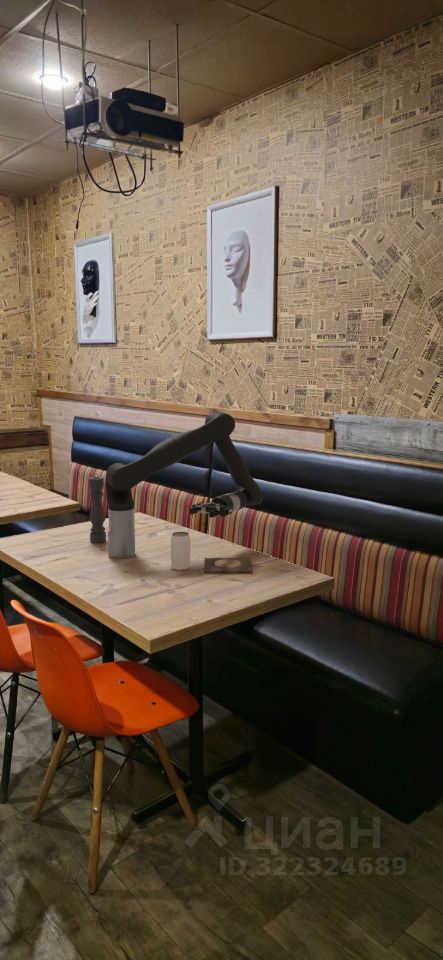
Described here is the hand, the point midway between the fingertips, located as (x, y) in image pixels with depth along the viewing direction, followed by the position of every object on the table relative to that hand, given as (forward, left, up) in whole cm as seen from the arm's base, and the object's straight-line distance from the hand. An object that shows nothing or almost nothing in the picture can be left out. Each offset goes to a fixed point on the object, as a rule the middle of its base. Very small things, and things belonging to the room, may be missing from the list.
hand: (200, 513), depth 234 cm
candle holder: (-40, +24, -17) cm, 50 cm away
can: (-6, -9, -17) cm, 20 cm away
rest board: (+10, -8, -17) cm, 21 cm away
